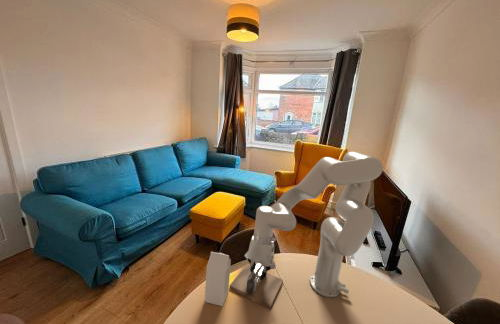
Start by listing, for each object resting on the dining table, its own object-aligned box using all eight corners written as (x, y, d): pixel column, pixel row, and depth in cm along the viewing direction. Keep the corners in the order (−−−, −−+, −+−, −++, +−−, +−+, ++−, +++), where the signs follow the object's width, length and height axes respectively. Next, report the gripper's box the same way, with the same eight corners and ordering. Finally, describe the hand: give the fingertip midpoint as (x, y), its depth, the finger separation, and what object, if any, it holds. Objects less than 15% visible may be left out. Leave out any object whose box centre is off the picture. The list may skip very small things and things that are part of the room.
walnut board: (282, 282, 91) (283, 279, 91) (270, 309, 78) (270, 305, 77) (246, 266, 99) (246, 264, 98) (229, 288, 85) (229, 285, 85)
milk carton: (222, 306, 77) (226, 261, 73) (204, 302, 78) (207, 257, 74) (228, 291, 84) (231, 249, 80) (211, 287, 85) (214, 246, 81)
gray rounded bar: (252, 295, 79) (253, 286, 78) (243, 290, 81) (244, 281, 80) (267, 271, 93) (268, 263, 92) (259, 267, 94) (260, 260, 93)
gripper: (285, 239, 84) (279, 278, 87) (248, 226, 91) (244, 263, 95) (279, 248, 77) (273, 290, 81) (240, 233, 84) (236, 273, 88)
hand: (257, 275), depth 88 cm, fingers closed on gray rounded bar, 4 cm apart
